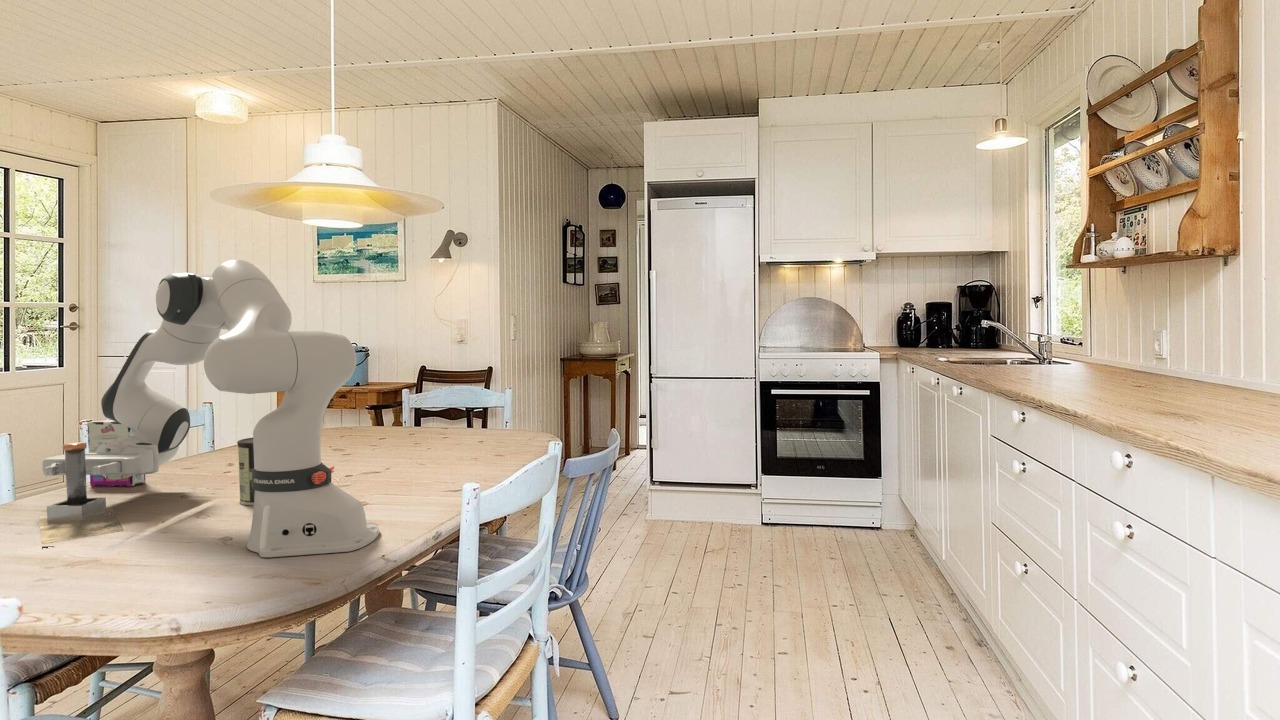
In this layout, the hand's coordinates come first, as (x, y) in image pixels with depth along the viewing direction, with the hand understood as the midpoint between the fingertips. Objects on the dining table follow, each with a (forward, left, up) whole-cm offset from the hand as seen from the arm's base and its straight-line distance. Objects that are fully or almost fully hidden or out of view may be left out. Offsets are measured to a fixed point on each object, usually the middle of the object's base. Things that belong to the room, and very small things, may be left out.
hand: (72, 471), depth 145 cm
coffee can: (-30, -16, -11) cm, 36 cm away
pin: (0, -1, -9) cm, 10 cm away
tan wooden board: (-4, +4, -10) cm, 12 cm away
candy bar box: (+15, -34, -11) cm, 39 cm away
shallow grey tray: (0, -1, -9) cm, 10 cm away
